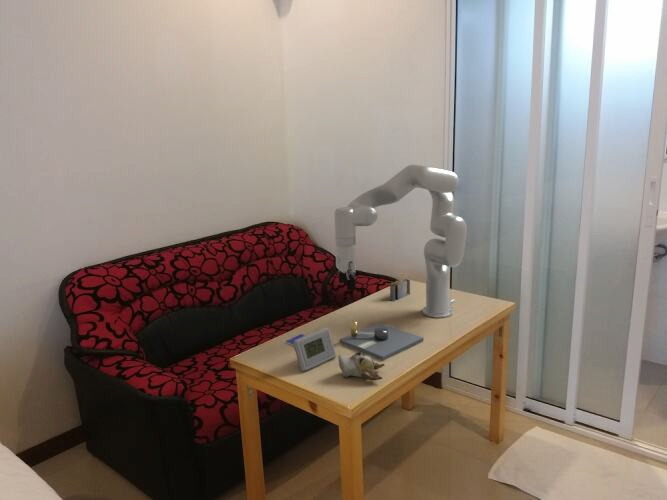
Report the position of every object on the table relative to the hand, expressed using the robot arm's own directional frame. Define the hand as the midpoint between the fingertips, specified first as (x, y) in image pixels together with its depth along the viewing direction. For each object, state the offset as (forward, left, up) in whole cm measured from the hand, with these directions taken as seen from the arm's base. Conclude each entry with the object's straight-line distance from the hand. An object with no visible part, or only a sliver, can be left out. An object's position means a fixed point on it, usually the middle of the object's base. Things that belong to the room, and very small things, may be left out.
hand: (347, 285), depth 210 cm
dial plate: (-4, +13, -20) cm, 25 cm away
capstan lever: (-1, +10, -18) cm, 21 cm away
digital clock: (+24, +9, -20) cm, 33 cm away
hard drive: (+16, -7, -21) cm, 27 cm away
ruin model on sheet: (-46, -14, -21) cm, 53 cm away
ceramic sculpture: (+20, +27, -20) cm, 39 cm away
